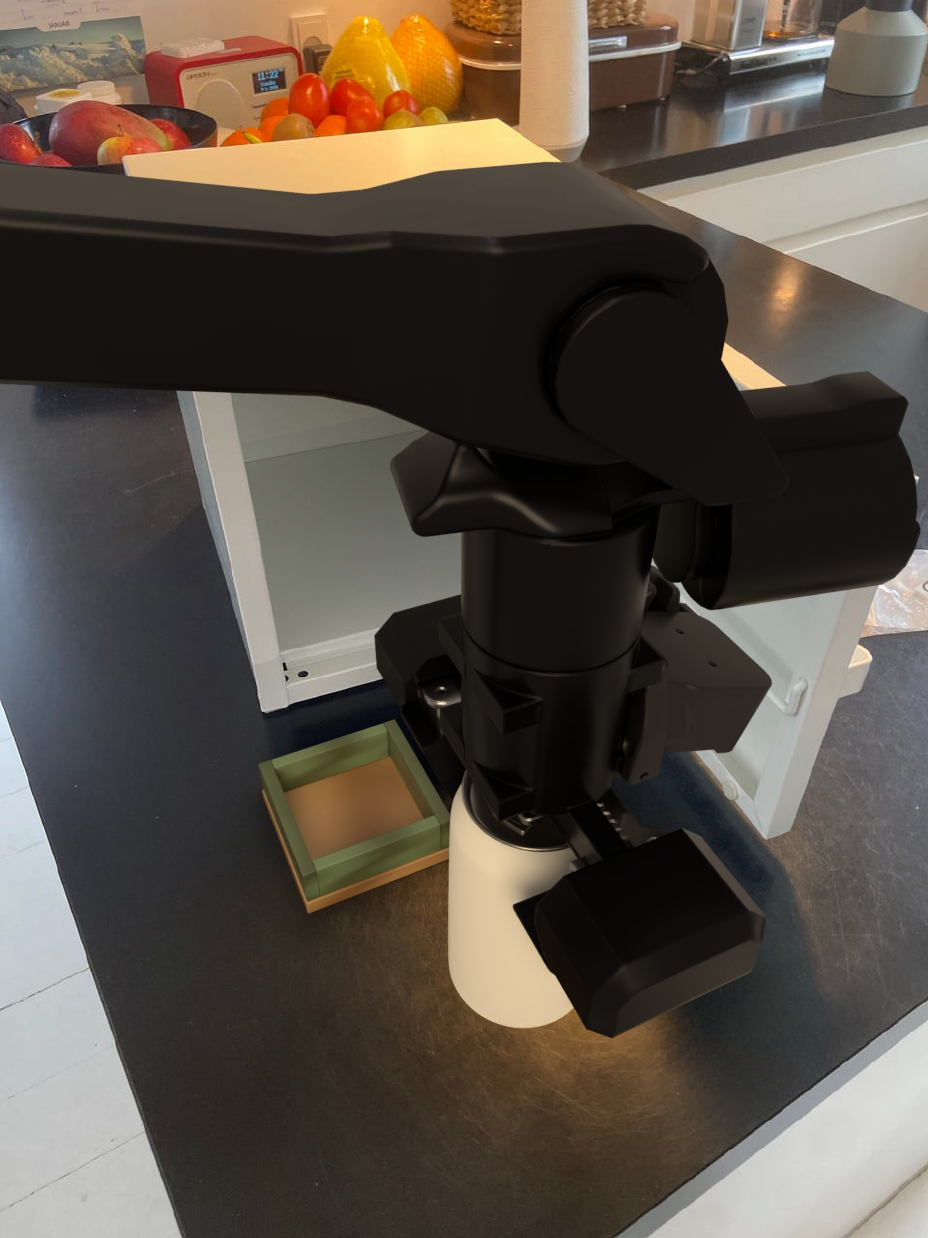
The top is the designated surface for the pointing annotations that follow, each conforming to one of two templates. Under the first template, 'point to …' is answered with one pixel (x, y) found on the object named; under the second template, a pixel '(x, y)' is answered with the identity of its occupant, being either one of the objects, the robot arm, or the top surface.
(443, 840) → the tray
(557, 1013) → the can
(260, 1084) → the top surface
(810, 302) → the top surface
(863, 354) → the top surface
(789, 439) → the robot arm
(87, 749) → the top surface
